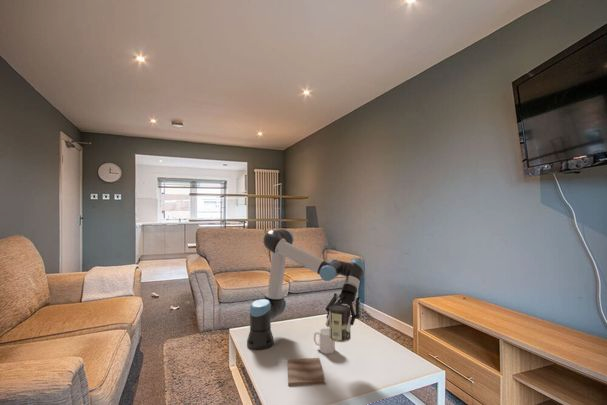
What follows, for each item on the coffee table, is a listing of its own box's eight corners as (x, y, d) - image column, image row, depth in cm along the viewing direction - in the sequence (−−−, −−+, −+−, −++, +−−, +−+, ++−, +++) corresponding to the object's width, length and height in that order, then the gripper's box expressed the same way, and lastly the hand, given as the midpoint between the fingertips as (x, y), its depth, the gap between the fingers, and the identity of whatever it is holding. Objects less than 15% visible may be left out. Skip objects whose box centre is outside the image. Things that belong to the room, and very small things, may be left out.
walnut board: (287, 361, 146) (287, 359, 146) (319, 360, 148) (319, 357, 148) (288, 385, 126) (288, 382, 127) (324, 383, 128) (324, 380, 128)
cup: (331, 355, 152) (331, 335, 153) (310, 350, 158) (310, 331, 158) (337, 348, 160) (336, 329, 160) (316, 344, 165) (316, 326, 165)
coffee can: (349, 333, 145) (349, 304, 145) (352, 342, 134) (352, 311, 135) (328, 332, 145) (328, 304, 145) (329, 342, 135) (329, 311, 135)
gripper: (373, 294, 147) (361, 337, 133) (333, 287, 159) (318, 326, 146) (369, 286, 142) (357, 330, 129) (328, 280, 155) (313, 319, 141)
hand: (337, 328), depth 137 cm, fingers closed on coffee can, 10 cm apart
